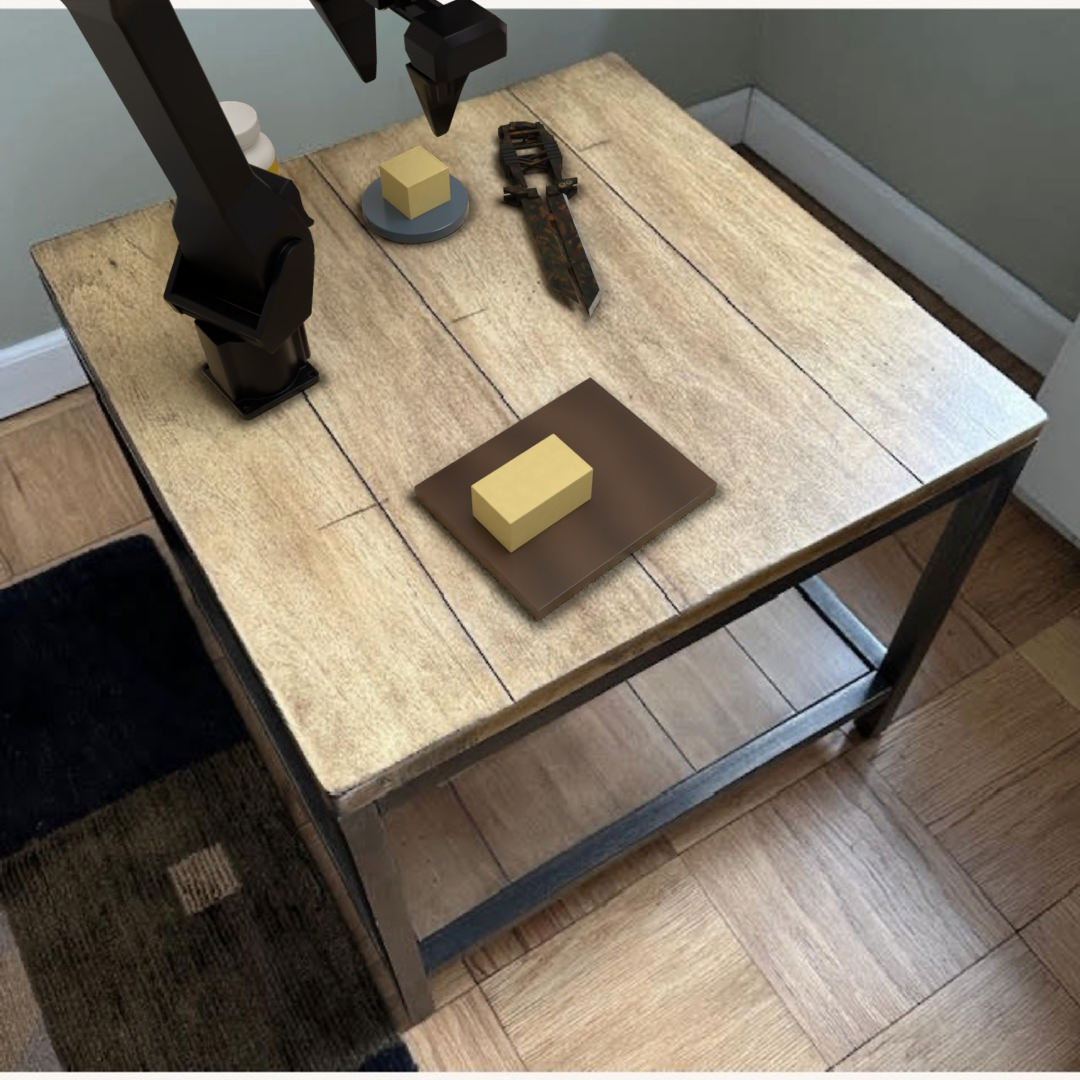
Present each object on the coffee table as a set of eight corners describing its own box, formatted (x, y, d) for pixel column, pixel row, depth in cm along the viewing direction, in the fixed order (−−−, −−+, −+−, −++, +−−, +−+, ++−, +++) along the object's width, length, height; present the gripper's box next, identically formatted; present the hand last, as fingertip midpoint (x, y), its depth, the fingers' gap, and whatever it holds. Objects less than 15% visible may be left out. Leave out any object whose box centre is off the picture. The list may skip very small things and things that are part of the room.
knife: (608, 320, 85) (609, 307, 84) (526, 327, 85) (526, 314, 84) (562, 129, 100) (562, 116, 99) (491, 134, 99) (491, 120, 98)
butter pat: (410, 220, 91) (407, 187, 88) (382, 197, 92) (378, 164, 90) (451, 199, 92) (448, 167, 90) (422, 177, 94) (419, 144, 91)
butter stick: (510, 553, 71) (510, 524, 68) (472, 515, 73) (470, 485, 70) (591, 498, 74) (593, 468, 71) (552, 463, 75) (553, 432, 73)
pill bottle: (242, 272, 88) (210, 153, 79) (202, 235, 91) (166, 115, 82) (307, 240, 91) (282, 120, 82) (266, 204, 93) (238, 84, 84)
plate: (404, 258, 89) (403, 248, 89) (341, 204, 93) (340, 194, 93) (490, 213, 93) (490, 203, 92) (426, 163, 97) (425, 153, 96)
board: (537, 621, 69) (537, 611, 68) (415, 497, 75) (413, 486, 74) (715, 494, 75) (717, 483, 74) (589, 388, 81) (590, 376, 80)
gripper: (571, -96, 70) (564, 122, 83) (398, -191, 78) (416, 21, 91) (432, -41, 66) (447, 180, 78) (264, -147, 74) (303, 68, 87)
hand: (404, 106), depth 84 cm, fingers open, 9 cm apart
